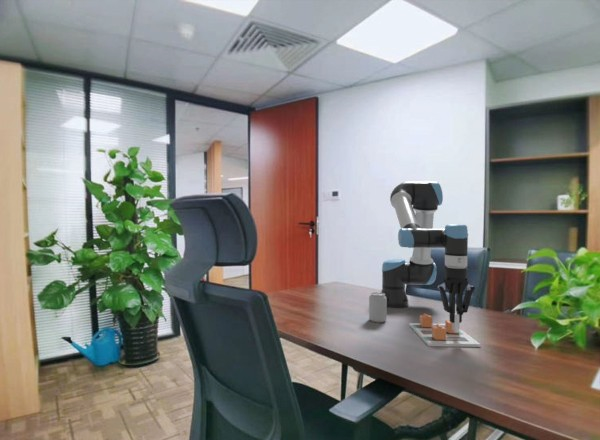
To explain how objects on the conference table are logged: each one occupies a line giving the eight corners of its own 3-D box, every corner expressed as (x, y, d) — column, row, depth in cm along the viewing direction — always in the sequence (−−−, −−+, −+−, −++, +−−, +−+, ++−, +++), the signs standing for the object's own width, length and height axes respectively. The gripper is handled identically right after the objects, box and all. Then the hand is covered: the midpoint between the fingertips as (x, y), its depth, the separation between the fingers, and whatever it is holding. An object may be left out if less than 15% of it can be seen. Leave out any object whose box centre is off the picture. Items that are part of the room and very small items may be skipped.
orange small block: (419, 324, 138) (419, 313, 138) (429, 324, 138) (429, 313, 138) (422, 327, 135) (422, 315, 135) (432, 327, 135) (432, 315, 135)
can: (367, 321, 146) (367, 294, 146) (371, 317, 153) (371, 290, 153) (384, 324, 143) (384, 296, 143) (388, 319, 149) (388, 292, 149)
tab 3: (445, 330, 131) (445, 318, 131) (455, 330, 130) (455, 318, 130) (448, 333, 127) (448, 321, 127) (459, 333, 127) (459, 321, 127)
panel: (409, 325, 141) (409, 322, 141) (453, 326, 140) (453, 323, 140) (428, 346, 118) (428, 342, 118) (480, 346, 117) (480, 343, 117)
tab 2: (431, 336, 124) (431, 324, 124) (442, 336, 124) (442, 324, 124) (434, 339, 121) (434, 326, 121) (446, 339, 121) (446, 327, 121)
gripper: (441, 268, 119) (441, 334, 119) (479, 268, 118) (478, 335, 118) (434, 265, 126) (433, 327, 126) (469, 265, 125) (468, 328, 126)
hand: (455, 331), depth 122 cm, fingers closed
